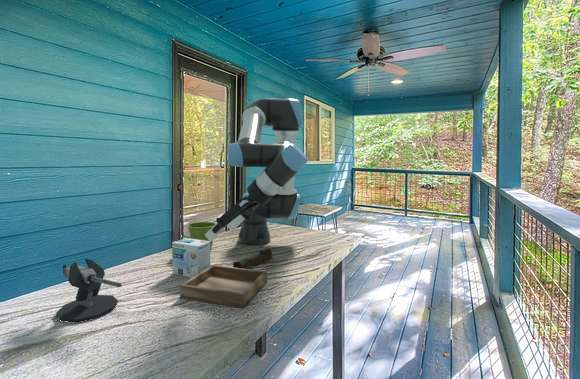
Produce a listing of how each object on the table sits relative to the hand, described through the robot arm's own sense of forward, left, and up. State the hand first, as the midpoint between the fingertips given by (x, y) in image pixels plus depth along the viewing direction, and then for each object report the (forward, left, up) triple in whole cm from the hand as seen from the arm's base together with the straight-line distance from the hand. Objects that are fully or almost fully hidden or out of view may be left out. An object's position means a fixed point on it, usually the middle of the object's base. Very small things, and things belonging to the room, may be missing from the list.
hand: (219, 233), depth 94 cm
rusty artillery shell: (-14, +6, -15) cm, 22 cm away
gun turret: (+29, -17, -15) cm, 37 cm away
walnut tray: (+8, +7, -14) cm, 18 cm away
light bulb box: (0, -10, -15) cm, 18 cm away
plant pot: (-22, -20, -15) cm, 34 cm away
